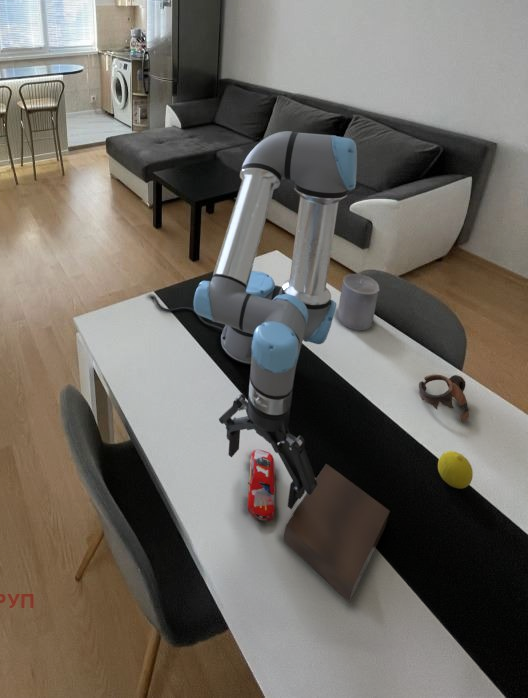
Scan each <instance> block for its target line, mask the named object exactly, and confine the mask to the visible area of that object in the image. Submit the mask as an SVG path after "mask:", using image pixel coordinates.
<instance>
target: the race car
mask: <svg viewBox="0 0 528 698" xmlns="http://www.w3.org/2000/svg"><path fill="white" fill-rule="evenodd" d="M275 464H276V463H275V460H274V457H273V455H272V454H271V453H270V452H268V451H266V450H262V449H254V450H253V451H252V453H251V455H250V459H249V472H248V473H249V474H248V482H247V484H248V489H247V490H248V492H247V511H248V513H249V514H250V515H251V516H252V517H253V518H255V519H256V520H258V521H260V522H269V521H271V520H273V519H274V517H275V511H276V509H275V508H276V507H275V506H276V505H275V503H276V502H275V499H276V496H275V494H276V492H277V490H276V489H275V488H276V487H275V486H276V483H275V482H276V481H275V477H276V476H275V475H276V465H275Z"/></svg>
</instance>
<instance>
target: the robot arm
mask: <svg viewBox="0 0 528 698" xmlns="http://www.w3.org/2000/svg"><path fill="white" fill-rule="evenodd" d="M357 150H358V149H357V144H356V142H355V141H354V140H353V139H352V138H349V137H343V136H337V135H336V134H335V135H333V134H320V133H309V132H295V131H291V130H290V131H289V130H286V131H279V132H275V133H272V134H271V135H268V136H266V137H265V138H264V139H262V140H261V141H259V142H258V144H256V145H255V146H254V148H252V150H250V152H249V153H248V154H247V156H246V157H245V160H244V161H243V163H242V166H241V168H240V172H239V178H240V180H241V183H240V186H239V190H238V192H237V196H236V198H235V199H236V200H235V203H234V206H233V208H232V213H231V215H230V219H229V222H228V225H227V228H226V232H225V235H224V238H223V241H222V244H221V247H220V251H219V253H218V257H217V261H216V264H215V267H214V269H213V274H212V278H211V280H202V281H201V282H199V284H198V285H197V288H196V290H195V292H194V297H193V307H190V306H179V307H174V308H167V307H163V306H162V305H161V304H160V302H159V301H158V298H157V297H156V296H155V295H150V296H149V297H150V299H153V300H154V302H155V303H156V305H157V307H158V308H159V309H160V310H162V311H164V312H176V311H181V310H188V311H191V312H193V313H194V314H196V316H197V318H198V319H199V320H200V322H201V323H202V324H204V325H205V326H207V327H210V328H213V329H215V330H219V331H221V332H222V333H221V335H220V346H221V349H222V351H223V352H224V354H225V355H226V356H227V357H228V358H229V359H231V361H234V362H236V363H237V364H240V365H243V366H248V367H250V373H249V385H248V395H247V396H248V397H247V398H248V399H247V400H246V396H245V394H244V393H240V394H239V395H238V396H237V397H236V398H235V399H234V400H233V402H232V405H231V406H230V407H229V408H228V409H227V410H226V411H225V412H224V413H223V414H222V415H220V417H219V418H218V421H219V422H220V424H222V425H225V429H226V440H228V456H229V457H230V458H233V456H234V455H235V454H236V453H237V452H238V451H239V450H240V440H241V431H244V430H247V431H252V430H254V431H255V433H256V434H257V435H258V436H260V437H262V439H264V440H265V441H266V442H267V443H268V444H270V445H271V447H272V449H273V451H274V453H276V454H278V456H279V458H280V459H281V461H282V464H283V465H284V467H285V469H286V470H287V473H288V474H289V477H290V478H291V480H292V481H291V482H290V486H289V493H288V499H287V507H288V509H290V510H292V509H293V508H294V506H295V505H296V503H297V502H298V500H302V498H303V495H305V493H307V494H309V495H311V494H312V492H313V491H314V489H315V487H316V486H317V481H316V478H317V477H316V476H315V472H314V470H313V467H312V465H311V461H310V459H309V456H308V454H307V451H306V448H305V446H306V445H305V441H306V440H305V438H304V437H303V436H302V435H298V436H297V437H296V436H295V435H293V434H291V433H290V430H289V426H288V425H289V424H290V423H289V422H290V414H291V406H292V402H293V401H292V399H293V389H294V380H295V376H296V375H295V374H296V369H297V364H298V360H299V357H300V354H301V347H302V344H303V342H306V343H308V342H309V343H312V344H315V345H322V344H324V343H325V342H326V340H327V338H328V335H329V333H330V330H331V326H332V323H333V319H334V316H335V313H336V310H337V302H336V301H335V300H333V299H332V294H331V291H330V290H329V288H327V282H328V274H329V268H330V264H331V263H330V261H331V255H332V249H333V242H334V237H335V235H334V234H335V229H336V222H337V215H338V208H339V202H340V201H341V200H343V199H345V198H347V196H348V192H349V191H352V190H354V189H356V185H357V172H358V168H357V167H358V151H357ZM284 179H285V180H288V181H294V187H293V189H294V191H295V192H296V193H297V194H298V195H299V201H298V210H297V217H296V218H297V219H296V225H295V233H294V242H293V250H292V251H293V252H292V258H291V265H290V266H291V267H290V274H289V276H290V277H289V279H287V280H285V281H284V282H283V284H282V286H280V285H276V283H275V281H274V279H273V277H272V276H270V275H269V274H268V273H265V272H263V271H258V270H253V267H254V265H255V261H256V257H257V254H258V249H259V245H260V242H261V239H262V234H263V231H264V227H265V223H266V220H267V216H268V213H269V209H270V205H271V202H272V198H273V194H274V190H276V189H278V188H279V187H280V186H281V181H282V180H284ZM204 318H205V319H207V320H210V321H212V322H213V323H218V324H222V325H224V327H220V326H218V325H215V324H212V323H209V322H207V321H205V320H204ZM244 410H245V413H246V415H244V416H241V417H236V416H235V417H234V418H232V417H233V416H234V415H235V414H237V412H240V411H244Z"/></svg>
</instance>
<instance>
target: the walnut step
mask: <svg viewBox="0 0 528 698" xmlns="http://www.w3.org/2000/svg"><path fill="white" fill-rule="evenodd" d="M315 478H316V481H317V486H316V487H315V489H314V491H313V492H312V494H311V495H309V494H307V493H306V492H305V493H306V494H304V497H302V498H301V501H300V502H299V504H298V505H297V507H296V509H295V510H294V512H293V513H292V514H291V516H290V517H289V519H288V521H287V522H286V524H285V527H284V529H285V530H284V537H283V542H284V543H285V544H286V545H287V546H288V547H289V548H290V549H292V550H293V552H295V553H296V554H297V555H298V556H299V557H300V558H301V560H303V561H304V562H305V563H306V564H308V566H310V568H311V569H313V571H315V572H316V573H317V574H318V575H319V576H320V577H321V578H322V579H323V580H325V582H327V583H328V584H329V586H331V587H332V588H333V589H334V590H335V591H336V592H337V593H338V594H340V596H342V598H344V599H345V601H346V602H348V603H350V602H351V600H352V598H353V596H354V594H355V591H356V590H357V588H358V586H359V584H360V581H361V579H362V577H363V575H364V573H365V571H366V569H367V567H368V565H369V562H370V561H371V558H372V556H373V554H374V552H375V550H376V548H377V546H378V544H379V541H380V540H381V538H382V535H383V534H384V531H385V529H386V527H387V523H388V520H389V516H390V513H391V511H390V509H388V508H387V507H385V506H384V505H382V504H381V503H380V502H379V501H378V500H376V499H375V498H373V497H372V496H370V495H369V494H368V493H366V492H365V490H362V489H361V488H360V487H359V486H357V485H356V484H354V482H352V481H350V480H349V479H348V478H346V477H345V475H342V474H341V473H340V472H339V471H337V470H336V469H334V468H333V467H331V466H330V465H329V464H327V463H325V465H324V466H323V468H322V469H321V471H319V474H318V475H317V477H315Z"/></svg>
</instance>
